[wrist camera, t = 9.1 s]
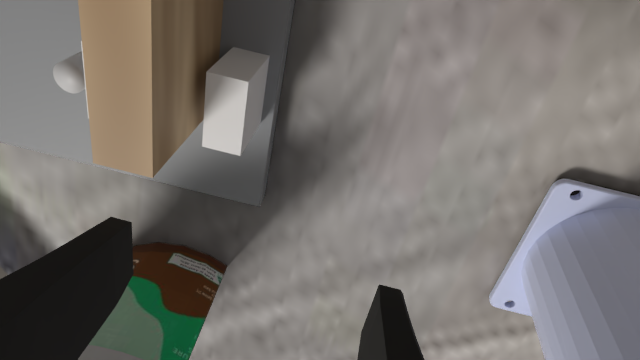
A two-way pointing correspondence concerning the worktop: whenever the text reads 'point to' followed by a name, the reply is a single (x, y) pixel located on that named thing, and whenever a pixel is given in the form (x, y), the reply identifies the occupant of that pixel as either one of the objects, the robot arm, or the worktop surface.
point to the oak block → (146, 76)
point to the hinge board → (219, 109)
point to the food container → (159, 305)
